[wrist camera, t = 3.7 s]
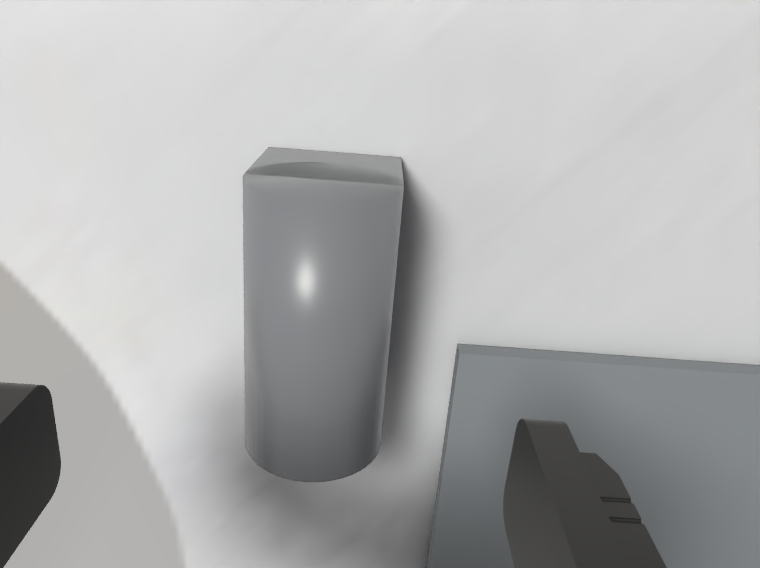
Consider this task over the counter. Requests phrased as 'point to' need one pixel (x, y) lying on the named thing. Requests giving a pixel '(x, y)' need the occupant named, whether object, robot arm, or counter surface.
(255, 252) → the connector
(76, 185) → the counter surface
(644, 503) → the slate mat
